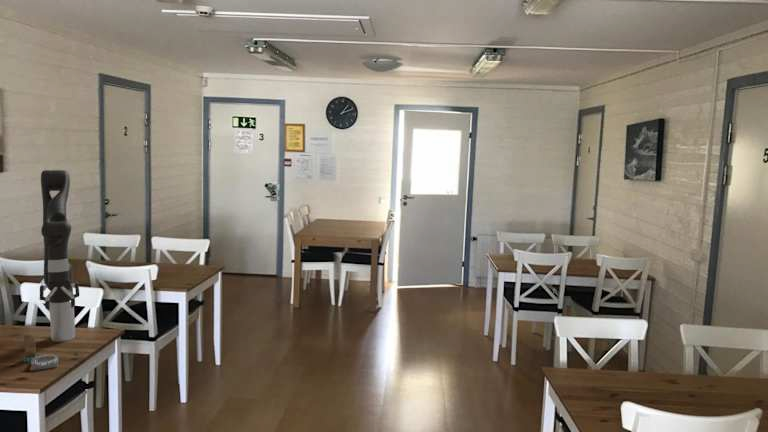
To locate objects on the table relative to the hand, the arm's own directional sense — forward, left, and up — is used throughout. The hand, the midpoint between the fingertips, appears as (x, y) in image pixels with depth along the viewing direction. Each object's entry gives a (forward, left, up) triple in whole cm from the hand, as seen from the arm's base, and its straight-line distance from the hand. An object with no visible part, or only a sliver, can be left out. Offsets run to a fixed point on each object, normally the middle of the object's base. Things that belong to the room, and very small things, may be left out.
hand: (60, 308), depth 235 cm
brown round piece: (+9, -11, -17) cm, 22 cm away
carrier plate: (+17, -5, -17) cm, 25 cm away
